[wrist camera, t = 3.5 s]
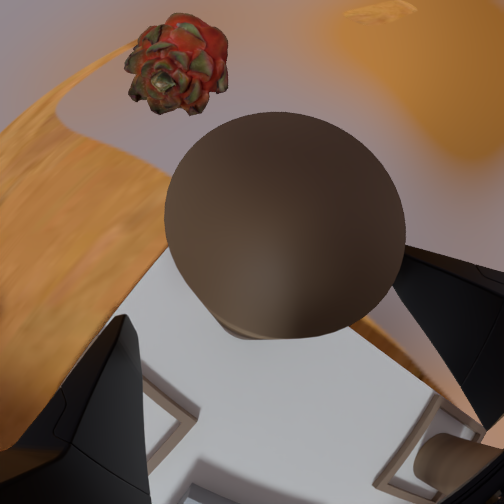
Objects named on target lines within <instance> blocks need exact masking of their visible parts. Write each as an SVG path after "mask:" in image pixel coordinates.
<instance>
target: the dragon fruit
mask: <svg viewBox="0 0 504 504" xmlns="http://www.w3.org/2000/svg"><path fill="white" fill-rule="evenodd" d="M227 49H228V40H227V38H226V36H225V35H224V34H223V33H222V31H220V30H219V29H218V28H216V27H211V26H209V25H208V24H206V23H205V22H203V21H202V20H201V19H199V18H197V17H195V16H193V15H190V14H184V13H174V14H172V15H171V16H170V17H169V18H168V19H167V21H166V23H165V24H163V25H159V26H150V27H149V28H148V29H147V30H146V31H144V32H143V33H142V34H141V35H140V37H139V38H138V45H136V46H135V47H134V48H133V50H135V51H134V52H132V53H131V54H130V55H129V57H128V58H127V60H126V61H125V67H124V69H125V71H126V72H128V73H132V74H136V76H135V77H134V79H133V81H132V84H131V88H130V89H129V92H128V95H129V96H130V97H131V99H132V100H133V101H135V102H138V101H139V100H147V102H148V104H149V106H150V109H151V111H153V112H154V113H156V114H159V115H161V114H163V113H167V112H170V111H174V110H175V109H177V108H183V109H184V110H186V112H187V113H188V114H189V116H191V115H196V114H200V113H202V111H203V110H204V109H205V107H206V105H207V103H208V101H209V92H216V94H219V93H223V92H225V91H226V90H227V89H228V71H227V67H226V61H227V56H228V54H227Z"/></svg>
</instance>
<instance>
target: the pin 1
mask: <svg viewBox="0 0 504 504" xmlns="http://www.w3.org/2000/svg"><path fill="white" fill-rule="evenodd" d="M164 222H165V232H166V238H167V242H168V246H169V250H170V253H171V255H172V258H173V260H174V262H175V265H176V267H177V269H178V270H179V272H180V274H181V275H182V277H183V279H184V280H185V282H186V283H187V285H188V286H189V287H190V289H191V290H192V291H193V292H194V294H195V295H196V296H197V297H198V299H199V300H200V301H201V302H202V303H203V305H204V306H205V307H206V308H207V310H208V311H209V312H210V313H211V314H212V316H213V317H214V318H215V319H216V320H217V322H218V323H219V324H220V325H221V326H222V328H223V329H224V330H225V331H226V332H228V333H229V334H230V335H232V336H234V337H236V338H239V339H243V340H280V339H302V338H311V337H319V336H322V335H326V334H330V333H334V332H336V331H339V330H341V329H343V328H346V327H348V326H350V325H352V324H353V323H355V322H357V321H358V320H360V319H361V318H363V317H364V316H366V315H367V314H368V313H369V312H370V311H371V310H372V309H374V308H375V307H376V306H377V305H378V304H379V302H380V301H381V300H382V299H383V298H384V297H385V295H386V294H387V293H388V291H389V289H390V288H391V286H392V285H393V283H394V281H395V279H396V277H397V274H398V272H399V270H400V267H401V263H402V259H403V256H404V249H405V242H406V226H405V218H404V212H403V208H402V204H401V200H400V198H399V195H398V192H397V190H396V187H395V185H394V183H393V181H392V180H391V178H390V176H389V174H388V173H387V171H386V170H385V168H384V167H383V165H382V164H381V163H380V161H378V159H377V158H376V157H375V156H374V155H373V153H372V152H371V151H370V150H368V149H367V148H366V147H365V146H364V145H363V144H362V143H361V142H360V141H358V140H357V139H356V138H354V137H353V136H352V135H350V134H348V133H347V132H345V131H344V130H342V129H340V128H338V127H336V126H334V125H332V124H330V123H328V122H325V121H323V120H320V119H317V118H314V117H310V116H306V115H302V114H295V113H288V112H266V113H257V114H252V115H247V116H243V117H240V118H237V119H234V120H231V121H229V122H227V123H224V124H222V125H220V126H218V127H217V128H215V129H213V130H212V131H210V132H209V133H207V134H206V135H205V136H203V137H202V138H201V139H200V140H199V141H197V142H196V143H195V144H194V145H193V147H192V148H191V149H190V150H189V151H188V152H187V153H186V155H185V156H184V158H183V159H182V160H181V162H180V163H179V165H178V167H177V169H176V170H175V172H174V174H173V176H172V179H171V182H170V185H169V188H168V191H167V196H166V202H165V214H164Z"/></svg>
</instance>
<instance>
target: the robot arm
mask: <svg viewBox="0 0 504 504" xmlns="http://www.w3.org/2000/svg"><path fill="white" fill-rule="evenodd" d="M392 286H393V287H394V289H395V291H396V292H397V294H398V296H399V297H400V299H401V301H402V302H403V303H404V305H405V306H406V308H407V309H408V310H409V312H410V313H411V314H412V316H413V317H414V319H415V320H416V321H417V323H418V324H419V325H420V327H421V328H422V330H423V331H424V332H425V334H426V335H427V337H428V338H429V340H430V341H431V343H432V344H433V346H434V347H435V348H436V350H437V351H438V353H439V354H440V356H441V357H442V359H443V360H444V362H445V364H446V365H447V367H448V368H449V370H450V371H451V373H452V374H453V376H454V378H455V379H456V381H457V382H458V384H459V385H460V386H461V389H462V391H463V392H464V394H465V396H466V397H467V399H468V401H469V402H470V404H471V406H472V407H473V409H474V411H475V413H476V414H477V416H478V418H479V420H480V421H481V423H482V425H483V427H484V428H485V430H486V431H488V430H489V429H490V428H491V427H492V426H494V425H495V424H496V423H497V422H498V421H499V420H500V419H501V418H502V417H503V416H504V272H501V271H497V270H493V269H490V268H486V267H483V266H479V265H474V264H472V263H469V262H465V261H462V260H458V259H455V258H451V257H448V256H445V255H441V254H437V253H433V252H430V251H426V250H423V249H419V248H415V247H412V246H408V245H405V249H404V256H403V259H402V263H401V267H400V270H399V272H398V274H397V277H396V279H395V281H394V283H393V285H392ZM0 504H152V501H151V496H150V487H149V479H148V469H147V458H146V446H145V431H144V410H143V377H142V368H141V359H140V350H139V339H138V334H137V332H136V330H135V328H134V326H133V324H132V322H131V320H130V318H129V316H128V315H127V314H121V315H117V316H115V317H114V318H113V319H112V320H111V321H110V323H109V324H108V325H107V326H106V327H105V329H104V330H103V331H102V332H101V334H100V335H99V336H98V338H97V339H96V340H95V341H94V343H93V344H92V345H91V346H90V348H89V349H88V350H87V352H86V353H85V354H84V355H83V357H82V358H81V359H80V361H79V362H78V363H77V365H76V366H75V367H74V369H73V370H72V371H71V373H70V374H69V375H68V377H67V378H66V379H65V381H64V382H63V383H62V385H61V387H60V388H59V389H58V390H57V392H56V393H55V394H54V396H53V397H52V399H51V400H50V401H49V403H48V404H47V405H46V407H45V408H44V409H43V410H42V412H41V413H40V414H39V415H38V417H37V418H36V419H35V420H34V421H33V423H32V424H31V425H30V426H29V427H28V429H27V430H26V431H25V432H24V434H23V435H22V436H21V437H20V439H19V440H18V441H17V442H16V443H15V444H14V445H13V446H12V447H10V448H9V449H7V450H5V451H2V452H0ZM436 504H504V449H503V450H502V451H501V452H499V453H498V454H497V455H496V456H495V457H494V458H493V459H492V460H491V461H490V462H489V463H488V464H486V465H485V466H484V467H483V468H482V469H481V470H479V471H478V472H477V473H476V474H475V475H473V476H472V477H471V478H470V479H469V480H467V481H466V482H465V483H463V484H462V485H461V486H460V487H458V488H457V489H456V490H454V491H453V492H451V493H450V494H449V495H447V496H446V497H444V498H443V499H442V500H440V501H439V502H437V503H436Z"/></svg>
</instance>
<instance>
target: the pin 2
mask: <svg viewBox="0 0 504 504" xmlns="http://www.w3.org/2000/svg"><path fill="white" fill-rule="evenodd" d="M502 450H503V449H499V448H495V447H491V446H488V445H484V444H481V443H477V442H474V441H470V440H467V439H464V438H460V437H457V436H454V435H451V434H448V433H439V434H437V435H435V436H433V437H431V438H430V439H429V440H428V441H426V442H425V443H424V445H423V446H422V447H421V448H420V450H419V451H418V453H417V455H416V457H415V460H414V464H413V472H414V475H415V476H416V477H417V478H418V479H420V480H421V481H423V482H424V483H426V484H428V485H429V486H431V487H433V488H435V489H436V490H438V491H440V492H441V493H443V494H445V495H449V494H450V493H451V492H453V491H454V490H456V489H457V488H458V487H460V486H461V485H462V484H463V483H465V482H466V481H467V480H469V479H470V478H471V477H472V476H473V475H475V474H476V473H477V472H478V471H479V470H481V469H482V468H483V467H484V466H485V465H486V464H488V463H489V462H490V461H491V460H492V459H493V458H494V457H495V456H496V455H497V454H498V453H499V452H501V451H502Z"/></svg>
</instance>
